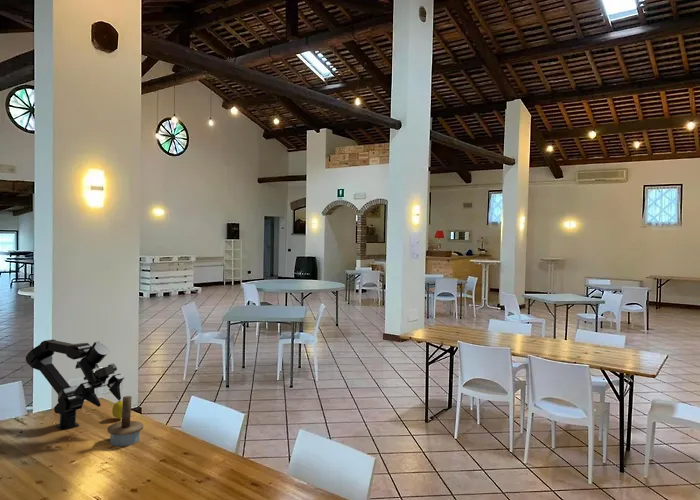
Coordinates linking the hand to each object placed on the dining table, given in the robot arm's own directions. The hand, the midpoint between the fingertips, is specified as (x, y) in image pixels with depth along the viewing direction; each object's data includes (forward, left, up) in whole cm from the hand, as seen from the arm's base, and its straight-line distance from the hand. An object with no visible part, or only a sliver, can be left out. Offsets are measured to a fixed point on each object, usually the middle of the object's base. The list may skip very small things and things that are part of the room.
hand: (110, 402), depth 183 cm
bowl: (+8, +2, -13) cm, 16 cm away
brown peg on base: (+8, +2, -9) cm, 12 cm away
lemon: (-16, +11, -13) cm, 24 cm away
